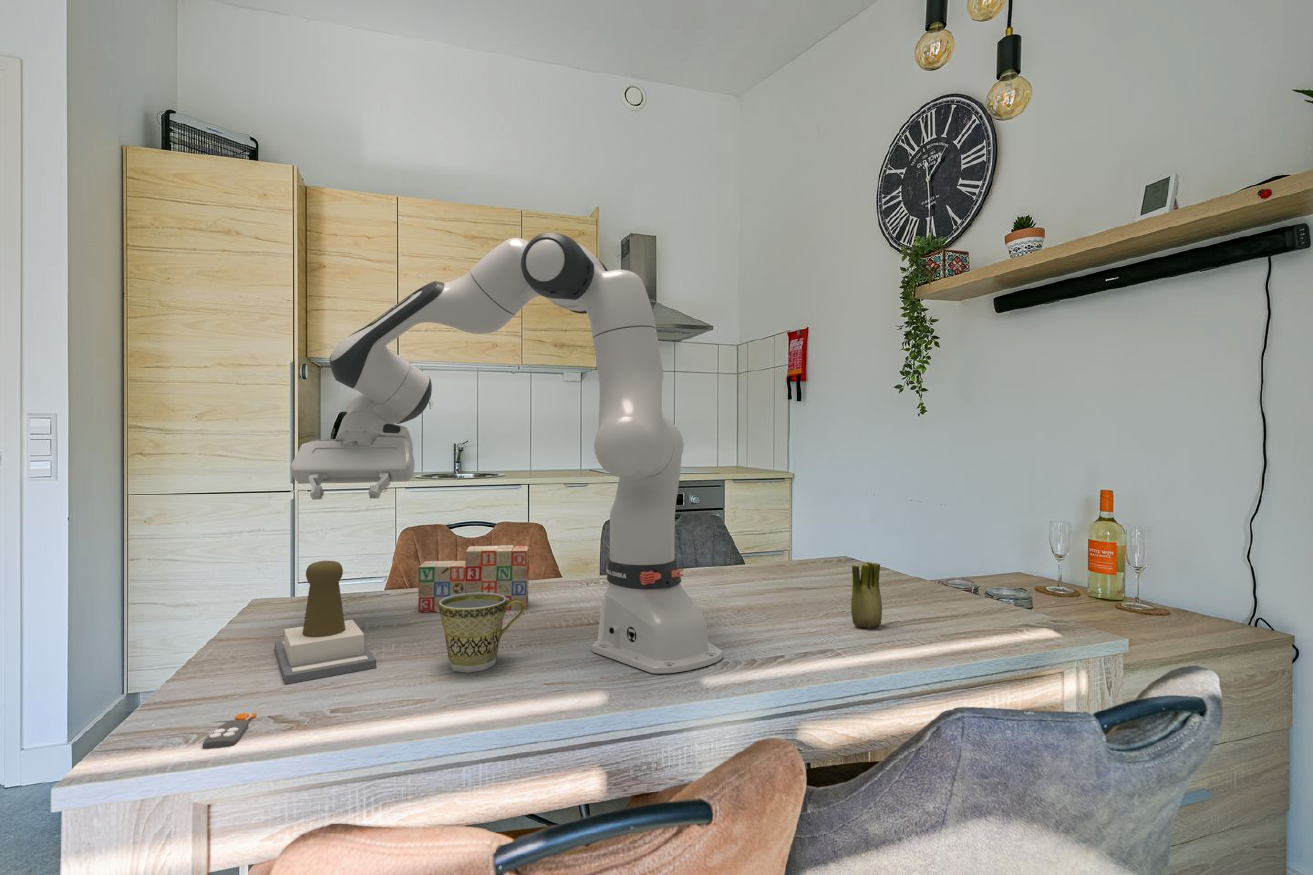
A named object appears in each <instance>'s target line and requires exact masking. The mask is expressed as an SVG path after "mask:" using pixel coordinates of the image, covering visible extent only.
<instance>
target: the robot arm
mask: <svg viewBox="0 0 1313 875" xmlns="http://www.w3.org/2000/svg"><path fill="white" fill-rule="evenodd" d="M537 297H544V298H546V299H547V300H549V301H550V302H551V303H553V304H554V305H555V306H557V307H560V308H563V309H566V310H569V311H570V312H572V313H576V314H582V315H583V314H585V315H586V314H587V317H588V319H589V323H590V330H591V334H592V335H591V336H592V342H593V348H594V356H595V361H596V368H597V375H598V383H599V406H598V408H599V409H598V430H597V432H596V435H595V438H594V442H593V443H594V444H593V447H594V454H595V457H596V460H597V462H598V463H599V465H600V466H601V467H602V468H603V469H604V470H605V472H608V473H609V474H611V475H612V476H615V477H616V478H618V482H617V483H618V484H617V488H616V493H615V498H614V502H613V505H612V507H611V510H610V513H609V558H608V559H607V561H606V568H605V569H606V570H605V572H606V580H607V582H608V586H607V589H606V592H605V593H604V595H603V596H602V598H601V601H600V612H599V620H598V621H599V622H598V635H597V640H596V641H595V642H593V643H592V645H591V646H592V647H591V652H593V653H595V654H598V655H601V656H604V657H606V658H609V659H612V660H615V661H617V662H621V663H623V664H625V665H628V666H631V667H634V668H637V669H639V670H642V671H645V672H646V673H647V672H648V673H651V674H673V673H680V672H686V671H691V670H695V669H700V668H703V667H706V666H709V665H713V664H715V663H717V662H719V661H721V660H722V659H723V658H724V652H723V650H722V649H720V648H719V647H717V646H716V645H715V644H713V643H711V642H710V641H709V636H708V626H707V624H708V623H707V620H706V618H705V613H704V611H703V610H702V609H701V608H698V607H697V605H696V604H695V602H694V601H693V600H692V598H691V597H690V596H689V595H688V593H687V591H685V589H684V588H683V585H682V584H681V582H682V578H681V577H684V576H685V574H681V573H682V572H684V571H685V569H684V568H681V569H680V567H679V565H678V562H677V559H676V558H675V541H676V540H675V536H676V534H675V533H676V532H675V528H676V524H675V523H676V521H675V518H676V517H675V516H676V507H677V497H678V492H679V487H680V486H679V484H680V477H681V469H682V468H681V467H682V465H681V464H682V457H683V456H682V455H683V452H684V445H685V444H684V439H683V438H684V437H683V435H682V434H681V432H680V430H679V429H678V427H677V426H676V425H675V423H674V422H672V421H671V420H670V419H669V418H666V417H664V416H663V406H662V405H663V404H662V403H663V402H662V399H663V398H662V397H663V396H662V394H663V392H662V391H663V390H662V387H663V379H664V369H663V364H662V358H661V357H662V356H661V350H660V344H659V339H658V332H657V326H656V321H655V317H654V316H655V315H654V313H653V312H654V311H653V308H652V304H651V300H650V298H649V295H648V291H647V289H646V287H645V284H644V281H643V279H642V278H641V277H640V276H639V275H638V274H637V273H635V272H633V271H630V270H627V269H612V270H608V268H607V267H606V266H605V264H603V262H602V261H600V260H599V259H598V258H597V257H596V256H595V255H594V254H593V253H592V252H591V251H590V250H589V249H587V248H586V247H585V246H584V245H582V244H580V243H578V242H577V241H576V240H575V239H573V238H571V237H570V236H567V235H565V234H562V233H558V232H544V233H541V234H538V235H536V236H534V237H533V238H532V239H531V240H530V241H528V240H526V239H524V238H521V237H511V238H508V239H506V240H504V241H503V242H502V243H500V244H498V245H497V246H495V247H494V248H493V249H492V250H490V251H489V252H488V253H487V254H485V255H484V256H483V257H481V259H480V260H478V262H476V263H475V264H474V265H473V266H472V267H471V268H470V269H469V270H468V272H466V273H465V274H464V275H462V276H460V277H458V278H456V279H454V280H449V281H447V282H441V281H435V280H434V281H431V282H429V283H427V284H425V285H423V286H421V287H420V288H419V289H417V290H415V291H414V292H412V293H410V294H409V295H408V296H406V297H405V298H403V299H402V300H401V301H399V302H398V303H396V304H395V305H393V306H392V307H391V308H390V309H388V310H387V311H385V312H384V313H383V314H381V315H379V316H378V317H377V318H376V319H374V320H372V321H371V322H370V323H368V324H367V325H365V326H363V327H361V328H360V329H358V330H356V331H355V332H353V333H351V334H349V335H348V336H347V337H345V338H344V339H343V340H341V341H340V342H339V343H338V344H337V345H336V346H335V348H333V351H332V353H331V354H330V355H329V356H330V357H329V359H328V360H329V366H330V370H331V373H332V375H333V377H334V379H335V381H337V382H338V383H340V384H343V385H345V386H346V387H347V388H350V389H353V390H352V391H353V392H352V394H351V395H350V398H349V400H348V403H347V406H346V414H345V415H344V416H343V418H342V419H341V422H340V426H339V428H338V431H337V434H336V436H335V438H327V439H317V438H315V439H311V440H310V441H306V442H305V443H302V444H301V445H300V447H299V450H298V451H297V453H296V455H295V456H294V458H293V460H292V462H291V464H290V467H289V468H290V469H289V470H290V472H291V475H292V477H293V478H294V480H295V481H296V482H297V484H298V483H299V484H310V485H311V490H310V492H309V495H310V498H311V500H312V501H313V500H323V498H324V497H323V496H324V494H325V491H324V490H323V486H322V485H321V484H324V483H325V484H326V483H327V484H329V483H375V482H376V484H371V485H369V490H368V496H369V499H371V500H372V499H380V497H381V493H382V492H384V491H385V490H386V489H387V488H388V487H390V485H391V482H392V483H393V482H408V481H409V480H411V479H412V478H413V477H414V474H415V473H414V472H415V464H416V463H415V457H414V447H413V442H412V438H411V435H410V431H409V430H408V428H407V427H406V426H404V425H401V424H403V423H406V422H408V421H411V420H414V419H416V418H417V417H419V416H420V415H421V414H422V413H423V412H424V411H425V410H426V409H427V406H428V404H429V402H430V400H431V396H432V393H433V392H432V391H433V388H432V387H433V386H432V385H433V384H432V380H431V377H430V376H429V375H428V374H426V373H425V372H424V371H423V370H421V369H419V367H417V366H415V365H414V364H412V363H411V362H410V361H407V360H406V359H404V357H401V356H400V355H398V353H396V352H395V351H393V350H391V349H390V348H389V347H387V346H388V345H389V344H390V343H392V342H394V340H396V339H398V338H399V337H400V336H401V335H403V334H404V333H406V332H407V331H409V330H410V329H411V328H413V327H414V326H416V325H418V324H422V323H423V324H424V323H434V324H440V325H443V326H447V327H450V328H453V329H456V330H459V331H462V332H465V333H469V334H475V335H484V334H485V335H486V334H491V333H495V332H497V331H498V330H500V329H501V328H503V327H504V326H506V324H508V323H509V322H510V321H511V320H512V319H513V318H514V317H515V316H516V315H517V313H519V312H520V310H522V309H523V308H524V307H525V306H526V304H528V303H529V302H531V300H533V299H534V298H535V299H536V298H537Z"/></svg>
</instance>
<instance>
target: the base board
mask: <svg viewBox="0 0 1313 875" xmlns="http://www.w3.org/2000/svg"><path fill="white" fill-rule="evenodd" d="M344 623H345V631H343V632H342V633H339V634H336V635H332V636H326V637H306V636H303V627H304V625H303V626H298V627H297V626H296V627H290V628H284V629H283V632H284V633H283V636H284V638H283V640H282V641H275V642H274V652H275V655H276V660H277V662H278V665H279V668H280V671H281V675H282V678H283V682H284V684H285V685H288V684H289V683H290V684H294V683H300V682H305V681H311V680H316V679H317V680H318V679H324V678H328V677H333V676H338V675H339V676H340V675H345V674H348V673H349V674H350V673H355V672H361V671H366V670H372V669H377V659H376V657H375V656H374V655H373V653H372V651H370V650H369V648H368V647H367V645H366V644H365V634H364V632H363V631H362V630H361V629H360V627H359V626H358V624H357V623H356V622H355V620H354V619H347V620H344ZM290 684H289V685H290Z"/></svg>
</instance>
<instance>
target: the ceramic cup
mask: <svg viewBox="0 0 1313 875" xmlns="http://www.w3.org/2000/svg"><path fill="white" fill-rule="evenodd" d="M506 600H507V599H506V597H505V596H503V595H500V594H496V593H483V592H478V593H464V594H458V595H453V596H449V597H446V598H444V599H442V600H440V601H439V610H440V612H439V615H440V616H439V617H440V621H441V624H442V630H443V632H444V640H445V644H446V650H447V656H448V662H449V666H451V667H450V668H451V670H452V671H453V672H459V673H467V674H470V673H475V672H481V671H482V672H483V671H487V670H488V669H490V668H491V667H493V666H495V665H496V663H497V658H498V657H497V656H498V651H499V644H500V640H501V638H502V636H503V635H504V633H505V632H506V631H508V629H509V628H510V627H511V626H512V625H513V623H515V622H516V621H517V620H518V619H519V618H520V617H521V616H522V615H523V613H524V611H525V610H524V604H523V602H522V601H521V600H518V599H512V600H509V601H508V602H506ZM514 603H520V604H521V606H522V609H521V610H520V611H519V613H518V614H517V615H516V616H515V617H514V618H513V619H511V621H509V622H508V624H507V625H506V626H505V627H504V628H503V622H504V617H505V615H506V613H507V611H508V610H507V609H508V608H509V607H510V606H511V605H512V604H514Z"/></svg>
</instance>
